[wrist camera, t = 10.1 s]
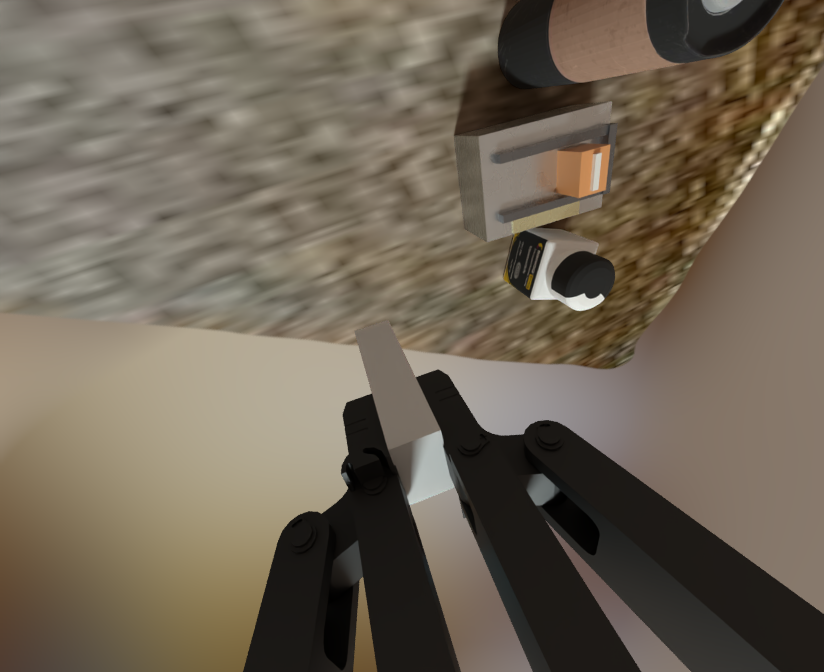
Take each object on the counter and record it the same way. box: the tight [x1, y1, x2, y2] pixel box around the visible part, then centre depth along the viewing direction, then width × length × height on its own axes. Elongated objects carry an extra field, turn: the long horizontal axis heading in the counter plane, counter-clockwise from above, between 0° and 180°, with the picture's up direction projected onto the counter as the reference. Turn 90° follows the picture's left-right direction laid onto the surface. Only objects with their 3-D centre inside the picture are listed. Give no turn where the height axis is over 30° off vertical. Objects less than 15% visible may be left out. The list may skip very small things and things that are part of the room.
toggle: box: [556, 143, 611, 198], centre depth 33 cm, size 4×3×4 cm
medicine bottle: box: [503, 228, 615, 311], centre depth 41 cm, size 7×7×12 cm
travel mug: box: [498, 0, 784, 89], centre depth 26 cm, size 8×8×20 cm
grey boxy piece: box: [454, 101, 617, 242], centre depth 37 cm, size 10×14×7 cm
